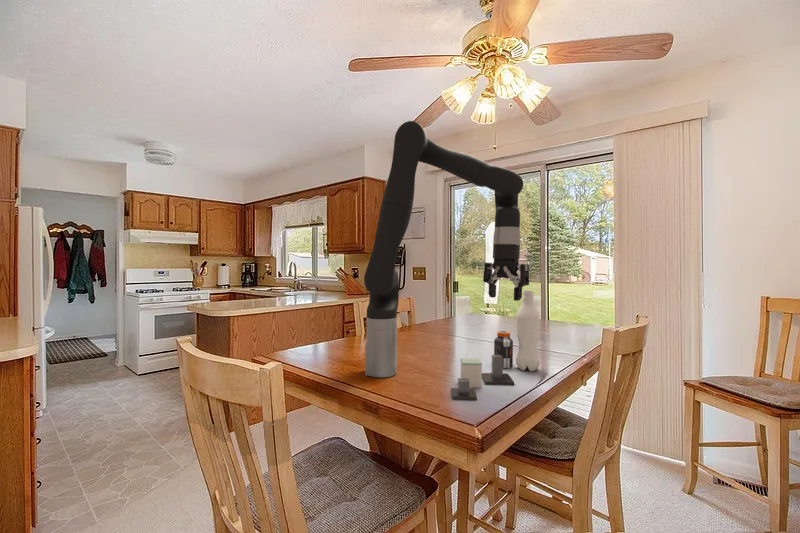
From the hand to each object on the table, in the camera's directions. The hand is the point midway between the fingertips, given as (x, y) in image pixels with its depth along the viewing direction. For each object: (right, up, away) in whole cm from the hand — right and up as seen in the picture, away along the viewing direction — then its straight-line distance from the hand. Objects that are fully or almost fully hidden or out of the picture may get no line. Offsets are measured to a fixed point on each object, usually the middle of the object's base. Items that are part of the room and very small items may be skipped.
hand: (504, 298), depth 110 cm
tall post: (-2, -24, -1) cm, 24 cm away
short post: (-14, -24, -13) cm, 31 cm away
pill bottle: (+3, -24, +14) cm, 27 cm away
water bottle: (+10, -24, +10) cm, 28 cm away
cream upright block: (-11, -24, -4) cm, 26 cm away
